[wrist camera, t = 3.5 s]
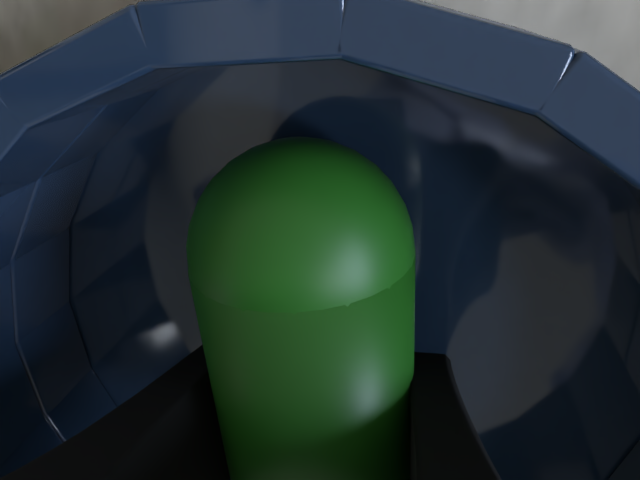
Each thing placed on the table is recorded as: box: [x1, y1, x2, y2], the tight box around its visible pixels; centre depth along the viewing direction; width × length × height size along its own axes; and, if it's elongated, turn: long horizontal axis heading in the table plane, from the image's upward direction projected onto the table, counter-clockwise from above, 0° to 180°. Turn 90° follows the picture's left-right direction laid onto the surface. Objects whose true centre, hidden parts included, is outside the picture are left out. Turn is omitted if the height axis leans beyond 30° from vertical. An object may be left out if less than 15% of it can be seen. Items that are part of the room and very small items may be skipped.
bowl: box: [0, 0, 640, 480], centre depth 10 cm, size 14×14×4 cm
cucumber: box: [186, 137, 415, 480], centre depth 9 cm, size 11×4×4 cm, turn 4°
